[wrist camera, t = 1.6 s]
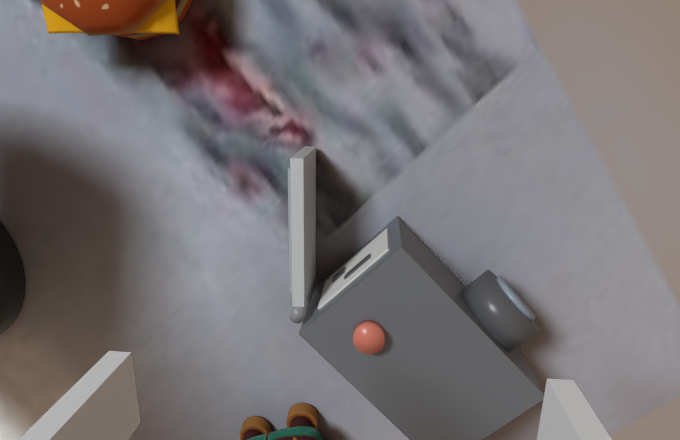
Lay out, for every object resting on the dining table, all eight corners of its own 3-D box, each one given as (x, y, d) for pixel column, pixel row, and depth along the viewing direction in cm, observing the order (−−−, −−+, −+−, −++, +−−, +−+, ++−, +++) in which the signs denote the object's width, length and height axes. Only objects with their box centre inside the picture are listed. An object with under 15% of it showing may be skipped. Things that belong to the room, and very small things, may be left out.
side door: (303, 284, 36) (288, 322, 31) (302, 146, 33) (285, 159, 27) (317, 285, 36) (304, 323, 31) (317, 146, 33) (303, 159, 27)
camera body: (311, 286, 37) (293, 338, 29) (423, 189, 34) (435, 218, 26) (429, 401, 39) (441, 477, 31) (545, 319, 36) (588, 381, 28)
